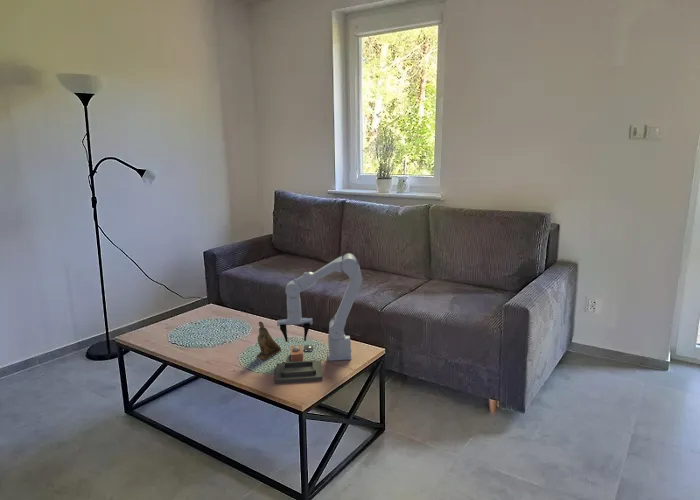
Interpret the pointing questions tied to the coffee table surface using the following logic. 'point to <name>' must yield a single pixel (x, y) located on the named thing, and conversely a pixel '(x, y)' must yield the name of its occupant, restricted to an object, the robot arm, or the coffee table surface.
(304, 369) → the stand
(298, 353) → the orange knobbed block
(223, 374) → the coffee table surface
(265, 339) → the brown carved statuette
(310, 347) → the domed chrome disc
